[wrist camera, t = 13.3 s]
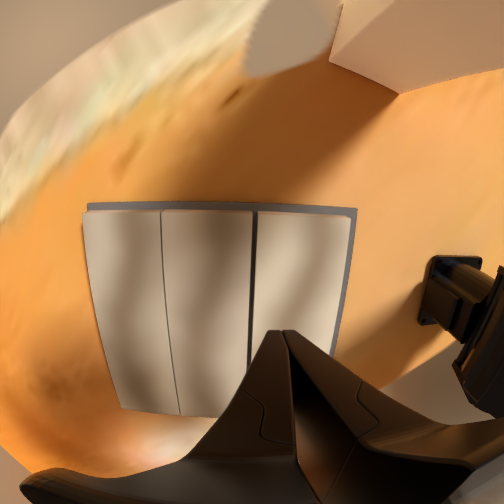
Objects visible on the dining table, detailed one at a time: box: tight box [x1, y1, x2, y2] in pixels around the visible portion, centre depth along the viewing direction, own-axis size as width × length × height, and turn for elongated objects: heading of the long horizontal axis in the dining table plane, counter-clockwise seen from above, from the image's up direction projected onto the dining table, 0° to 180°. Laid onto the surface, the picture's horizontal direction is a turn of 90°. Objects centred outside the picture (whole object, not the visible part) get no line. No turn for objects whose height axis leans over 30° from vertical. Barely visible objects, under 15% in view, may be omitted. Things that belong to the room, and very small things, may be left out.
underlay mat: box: [87, 201, 358, 372], centre depth 22 cm, size 19×18×1 cm
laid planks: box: [82, 209, 253, 418], centre depth 21 cm, size 12×18×1 cm, turn 178°
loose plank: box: [251, 211, 351, 362], centre depth 22 cm, size 6×18×1 cm, turn 178°
